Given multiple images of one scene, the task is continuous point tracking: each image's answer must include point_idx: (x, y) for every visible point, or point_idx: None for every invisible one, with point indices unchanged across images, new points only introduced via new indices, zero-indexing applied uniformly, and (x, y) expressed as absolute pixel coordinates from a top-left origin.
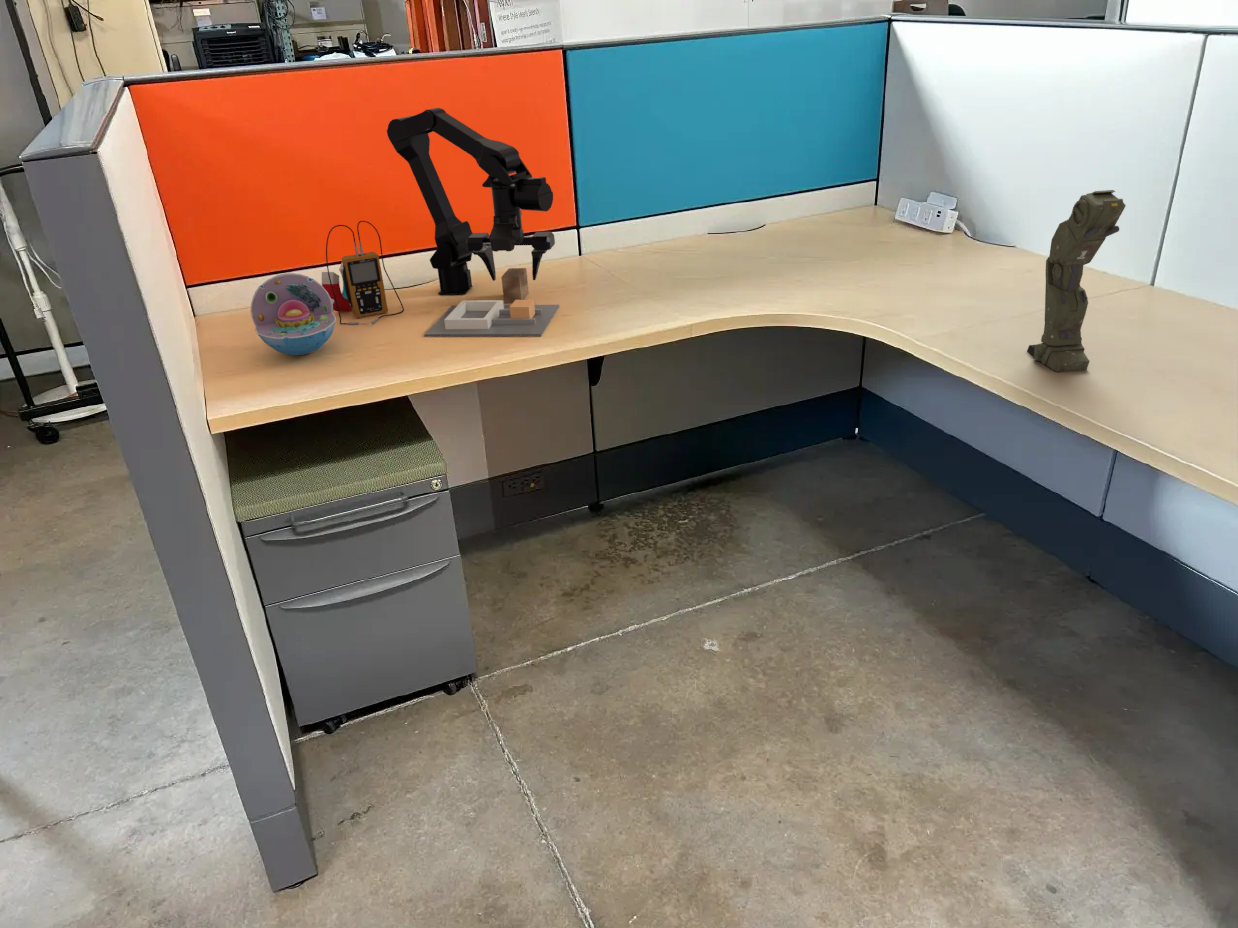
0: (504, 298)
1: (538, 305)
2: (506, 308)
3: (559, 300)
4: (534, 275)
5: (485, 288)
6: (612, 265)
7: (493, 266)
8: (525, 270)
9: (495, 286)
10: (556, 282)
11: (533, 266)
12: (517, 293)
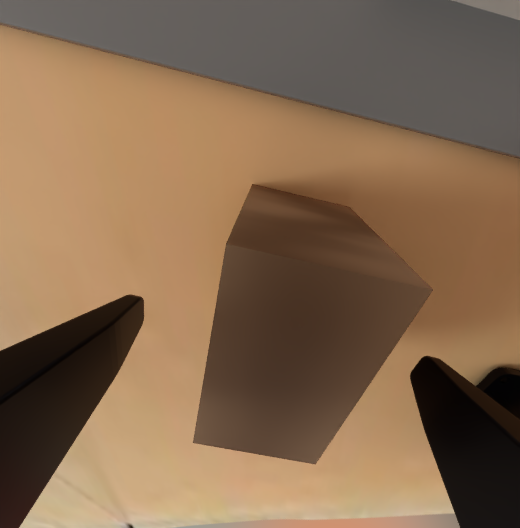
0: (352, 213)
1: (123, 31)
2: (364, 2)
3: (50, 182)
4: (103, 312)
5: (390, 408)
6: None
7: (476, 489)
8: (198, 418)
9: (350, 416)
10: (139, 402)
11: (14, 374)
12: (270, 202)
